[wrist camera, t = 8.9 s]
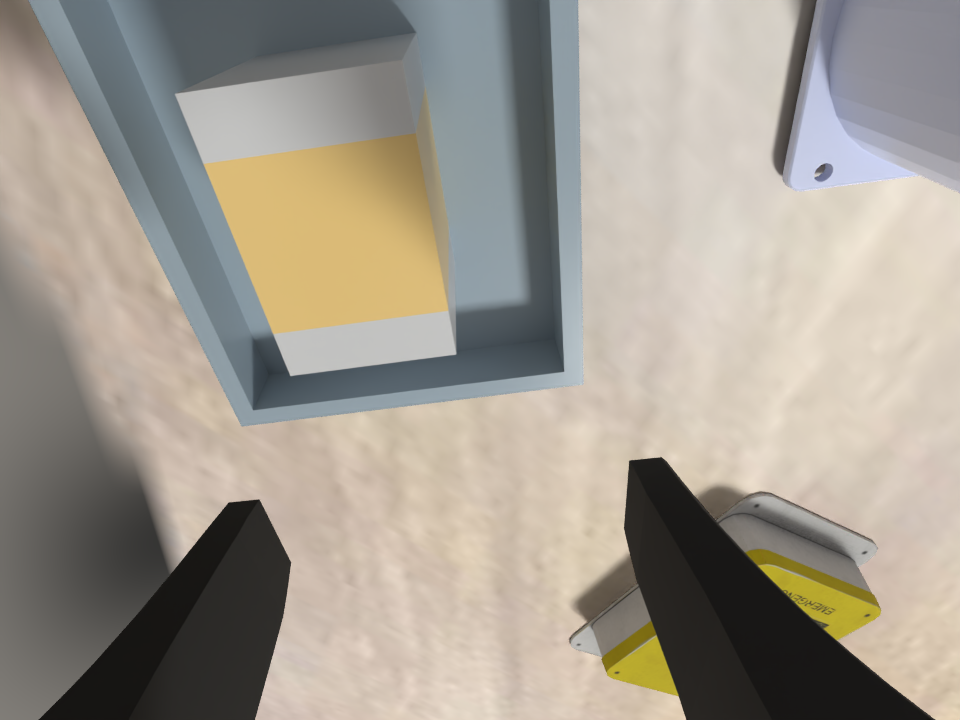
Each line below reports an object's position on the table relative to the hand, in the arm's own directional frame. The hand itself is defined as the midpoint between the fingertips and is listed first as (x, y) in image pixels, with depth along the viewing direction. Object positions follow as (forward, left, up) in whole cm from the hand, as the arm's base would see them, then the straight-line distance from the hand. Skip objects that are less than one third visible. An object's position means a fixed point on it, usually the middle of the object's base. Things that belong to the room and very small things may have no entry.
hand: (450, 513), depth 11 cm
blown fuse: (+2, -4, -8) cm, 10 cm away
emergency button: (-11, +21, -10) cm, 25 cm away
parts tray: (+2, -4, -9) cm, 10 cm away
